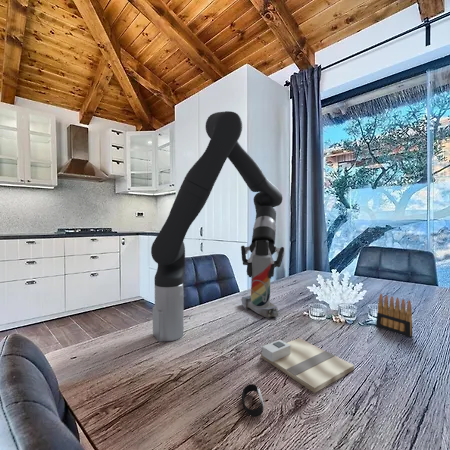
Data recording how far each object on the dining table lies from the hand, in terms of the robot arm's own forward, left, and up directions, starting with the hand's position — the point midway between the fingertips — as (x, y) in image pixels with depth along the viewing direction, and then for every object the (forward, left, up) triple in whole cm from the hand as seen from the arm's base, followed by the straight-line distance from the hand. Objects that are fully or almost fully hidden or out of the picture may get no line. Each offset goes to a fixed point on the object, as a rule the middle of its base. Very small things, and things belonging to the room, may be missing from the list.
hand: (259, 276), depth 79 cm
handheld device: (+22, +23, -22) cm, 38 cm away
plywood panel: (+5, -13, -22) cm, 26 cm away
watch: (-17, -17, -22) cm, 32 cm away
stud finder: (0, -7, -21) cm, 22 cm away
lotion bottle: (+1, +1, -9) cm, 10 cm away
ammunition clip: (+46, -17, -22) cm, 54 cm away
